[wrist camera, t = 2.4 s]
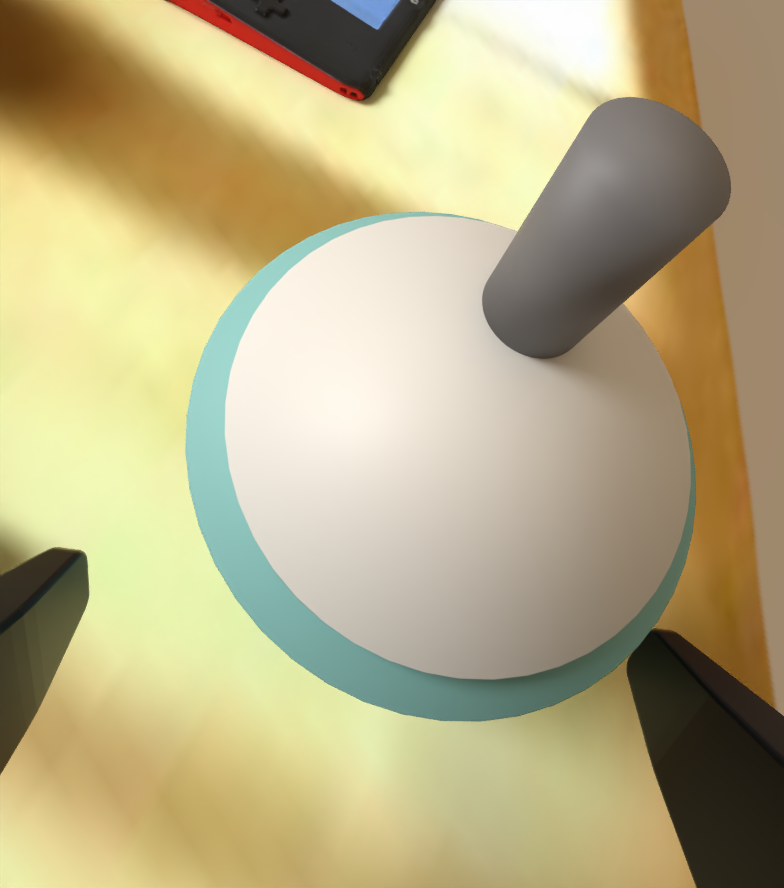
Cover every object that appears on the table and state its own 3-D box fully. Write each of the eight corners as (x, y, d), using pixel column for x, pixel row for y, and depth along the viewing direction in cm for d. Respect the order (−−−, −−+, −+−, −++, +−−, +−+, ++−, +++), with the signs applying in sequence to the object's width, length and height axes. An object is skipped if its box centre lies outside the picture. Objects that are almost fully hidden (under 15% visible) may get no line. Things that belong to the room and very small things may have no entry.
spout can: (371, 666, 17) (909, 1088, 2) (224, 579, 17) (-200, 434, 2) (446, 520, 19) (992, 240, 4) (315, 442, 19) (412, -118, 4)
